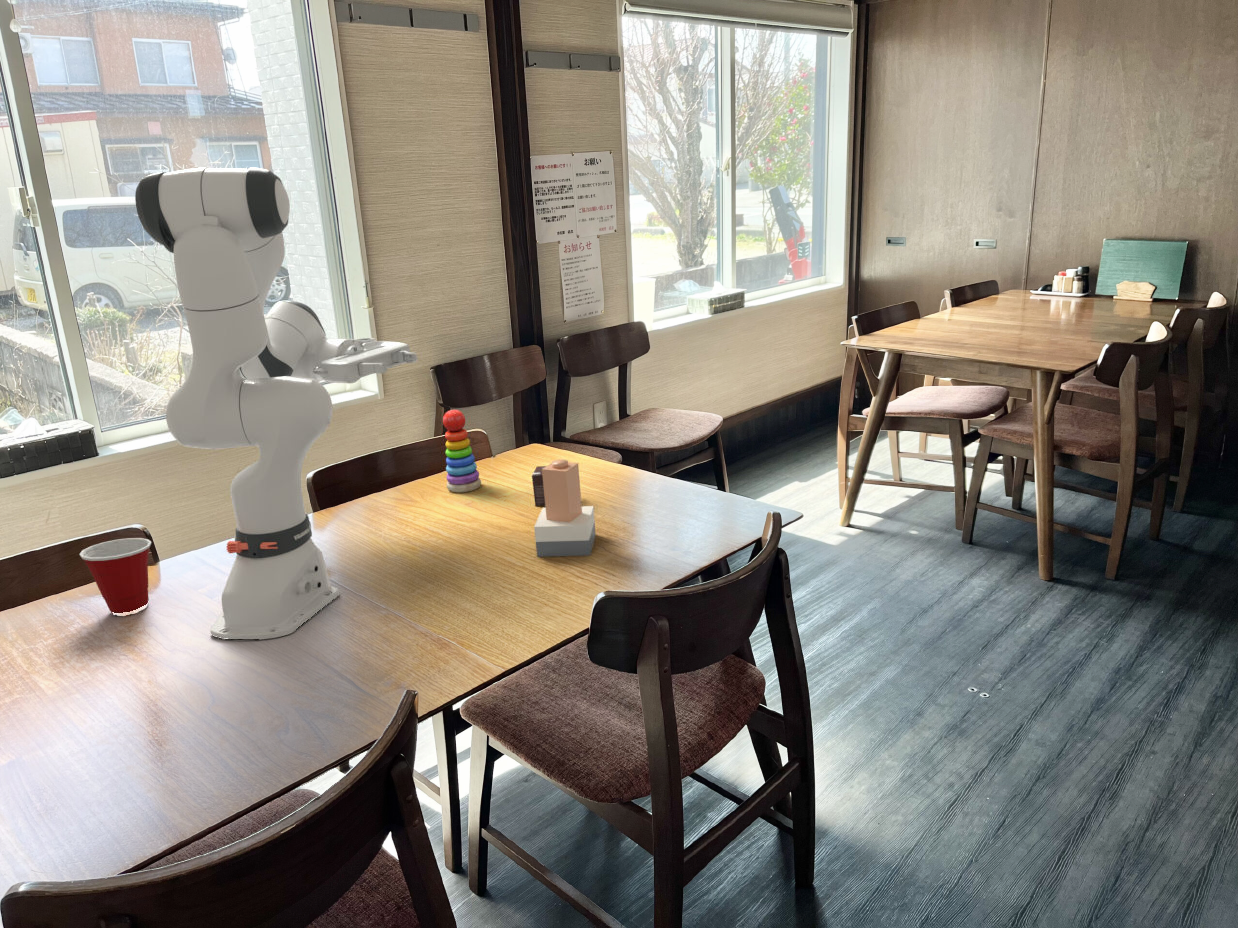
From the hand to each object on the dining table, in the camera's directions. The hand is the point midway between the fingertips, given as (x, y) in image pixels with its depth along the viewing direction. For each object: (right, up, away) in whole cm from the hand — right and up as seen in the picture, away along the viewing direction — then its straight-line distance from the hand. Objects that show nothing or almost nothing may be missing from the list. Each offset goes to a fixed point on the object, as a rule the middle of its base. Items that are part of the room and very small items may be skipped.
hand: (400, 362), depth 173 cm
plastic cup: (-43, -45, -16) cm, 64 cm away
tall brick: (+32, -29, -3) cm, 44 cm away
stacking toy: (+6, -25, +35) cm, 44 cm away
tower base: (+32, -35, -1) cm, 48 cm away
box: (+27, -28, +23) cm, 45 cm away
